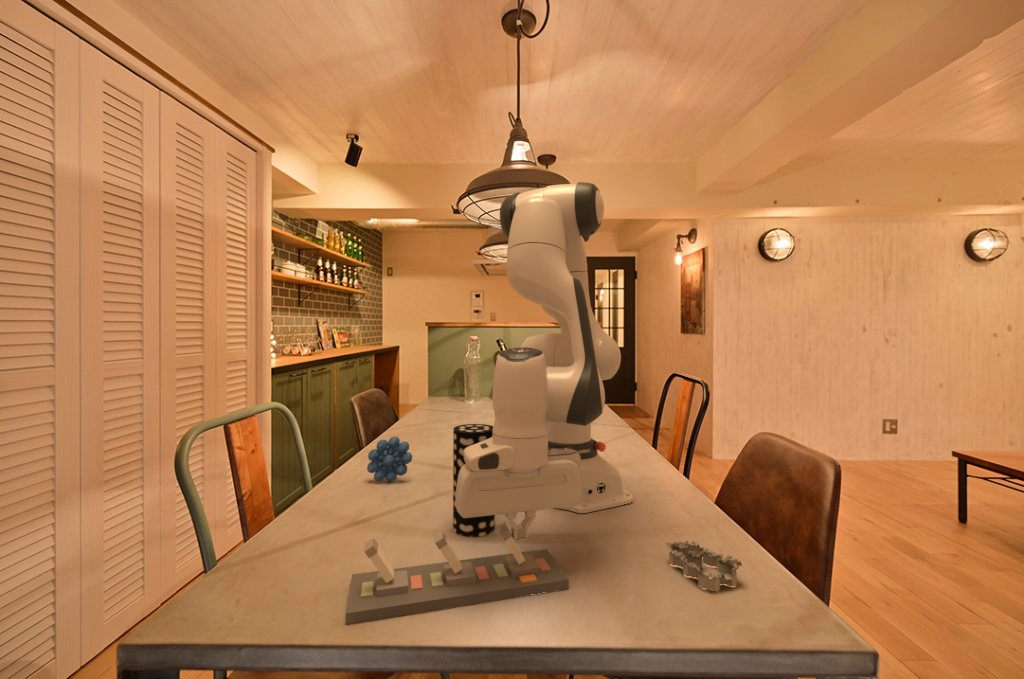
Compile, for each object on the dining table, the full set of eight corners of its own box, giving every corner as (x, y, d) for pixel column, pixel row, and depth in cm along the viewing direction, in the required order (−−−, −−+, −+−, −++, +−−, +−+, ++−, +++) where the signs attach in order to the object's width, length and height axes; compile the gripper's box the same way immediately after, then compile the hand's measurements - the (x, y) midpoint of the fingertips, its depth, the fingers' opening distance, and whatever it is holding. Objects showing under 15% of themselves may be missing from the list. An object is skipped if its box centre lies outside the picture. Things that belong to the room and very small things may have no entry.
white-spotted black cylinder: (462, 540, 84) (462, 434, 84) (447, 523, 92) (447, 426, 91) (501, 531, 88) (502, 430, 88) (484, 516, 96) (484, 422, 95)
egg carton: (745, 589, 69) (746, 563, 69) (704, 597, 67) (705, 570, 67) (698, 555, 80) (699, 533, 80) (661, 561, 78) (662, 538, 77)
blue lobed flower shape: (415, 476, 121) (415, 432, 121) (410, 485, 114) (410, 438, 114) (371, 477, 121) (371, 432, 121) (364, 485, 114) (364, 438, 114)
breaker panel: (546, 557, 78) (546, 543, 78) (568, 589, 69) (568, 573, 69) (352, 583, 70) (352, 567, 70) (346, 624, 60) (346, 605, 60)
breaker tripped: (521, 552, 73) (504, 522, 72) (526, 560, 71) (508, 529, 70) (514, 557, 73) (497, 527, 72) (518, 565, 70) (501, 534, 69)
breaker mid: (460, 560, 70) (441, 530, 70) (462, 568, 68) (443, 537, 67) (452, 565, 70) (433, 535, 69) (454, 574, 68) (435, 543, 67)
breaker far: (394, 569, 68) (373, 537, 67) (394, 578, 65) (373, 545, 64) (385, 574, 68) (365, 543, 67) (385, 584, 65) (364, 551, 64)
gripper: (572, 442, 77) (571, 522, 77) (453, 449, 71) (453, 536, 72) (588, 451, 71) (588, 538, 71) (460, 460, 65) (460, 555, 65)
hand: (519, 537), depth 71 cm, fingers closed
